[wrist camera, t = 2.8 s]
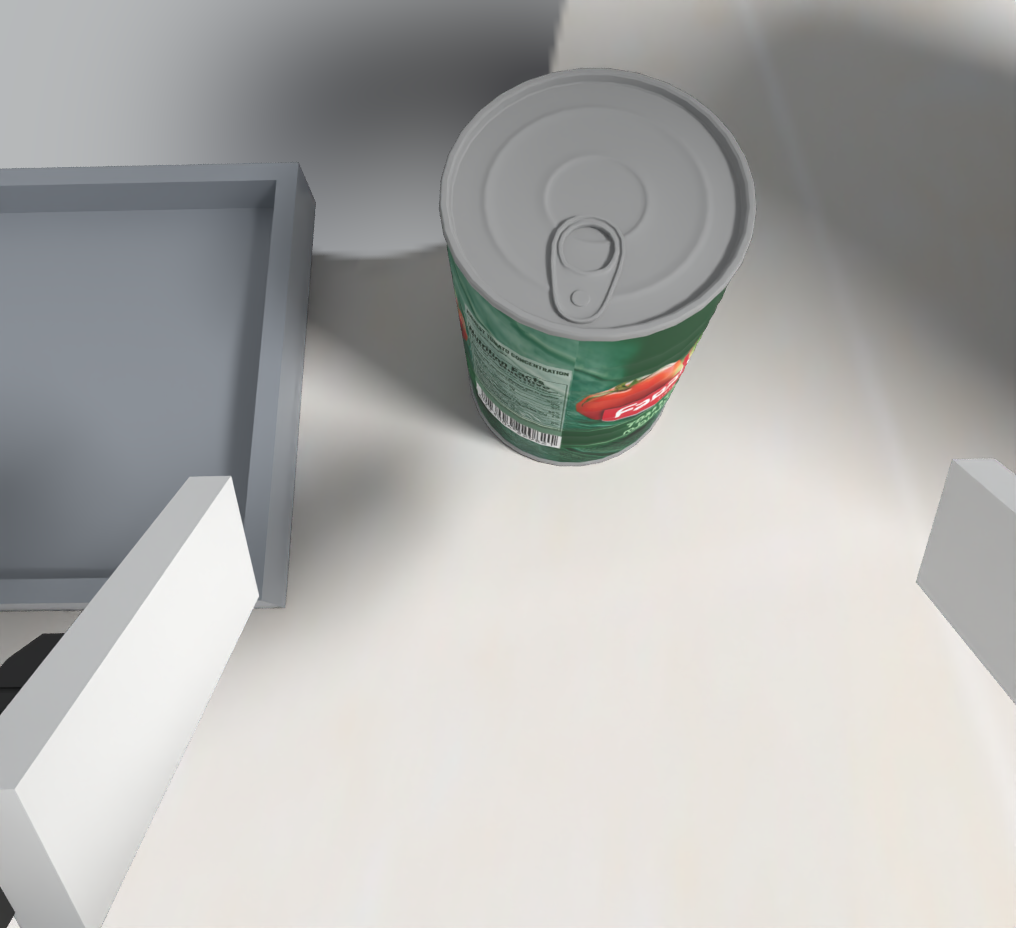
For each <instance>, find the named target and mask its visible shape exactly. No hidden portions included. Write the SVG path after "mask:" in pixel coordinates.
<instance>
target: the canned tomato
mask: <svg viewBox="0 0 1016 928" xmlns="http://www.w3.org/2000/svg"><path fill="white" fill-rule="evenodd" d="M439 211H440V217H441V223H442V229H443V235H444V237H445V240H446V242H447V250H448V256H449V262H450V267H451V273H452V279H453V285H454V290H455V296H456V302H457V307H458V313H459V319H460V325H461V330H462V336H463V342H464V348H465V353H466V359H467V365H468V371H469V381H470V387H471V392H472V396H473V399H474V401H475V404H476V406H477V409H478V411H479V413H480V415H481V416H482V418H483V419H484V421H485V422H486V424H487V425H488V427H489V428H490V430H491V431H492V432H493V433H494V434H495V435H496V436H497V437H498V438H499V439H500V440H501V441H502V442H503V443H505V444H506V445H508V446H509V447H511V448H512V449H514V450H515V451H517V452H518V453H520V454H522V455H524V456H527V457H529V458H531V459H534V460H536V461H539V462H543V463H548V464H552V465H557V466H584V465H590V464H596V463H601V462H603V461H606V460H609V459H611V458H614V457H617V456H619V455H621V454H622V453H624V452H625V451H627V450H629V449H630V448H632V447H633V446H635V445H636V444H637V443H638V442H639V441H640V440H641V439H642V438H643V437H645V436H646V435H647V434H648V433H649V432H650V431H651V429H652V428H653V426H654V425H655V423H656V422H657V420H658V419H659V417H660V416H661V414H662V412H663V409H664V407H665V404H666V402H667V401H668V399H669V397H670V395H671V393H672V391H673V390H674V388H675V385H676V383H677V382H678V380H679V378H680V375H681V374H682V373H683V371H684V368H685V366H686V364H687V363H688V361H689V359H690V357H691V355H692V353H693V352H694V350H695V348H696V345H697V343H698V342H699V340H700V339H701V336H702V334H703V332H704V330H705V329H706V327H707V325H708V323H709V320H710V318H711V317H712V315H713V314H714V312H715V310H716V307H717V305H718V303H719V302H720V300H721V299H722V297H723V294H724V292H725V289H726V287H727V285H728V283H729V281H730V280H731V279H732V277H733V276H734V274H735V273H736V271H737V270H738V268H739V267H740V266H741V264H742V262H743V259H744V257H745V254H746V252H747V249H748V247H749V244H750V242H751V239H752V236H753V229H754V222H755V216H756V198H755V187H754V181H753V178H752V174H751V171H750V168H749V165H748V162H747V159H746V156H745V155H744V153H743V151H742V150H741V148H740V146H739V144H738V143H737V141H736V139H735V138H734V136H733V134H732V133H731V132H730V131H729V130H728V128H727V127H726V126H725V125H724V124H723V123H722V122H721V121H720V119H719V118H718V117H717V116H716V115H715V114H714V113H713V112H712V111H711V110H709V109H708V108H707V107H705V106H704V105H703V104H702V103H700V102H699V101H698V100H696V99H695V98H694V97H693V96H691V95H689V94H687V93H686V92H684V91H682V90H680V89H678V88H676V87H674V86H672V85H670V84H668V83H667V82H664V81H661V80H658V79H655V78H652V77H649V76H646V75H643V74H640V73H635V72H629V71H623V70H617V69H611V68H579V69H572V70H566V71H559V72H553V73H549V74H546V75H543V76H540V77H537V78H535V79H531V80H528V81H525V82H523V83H521V84H519V85H517V86H515V87H514V88H512V89H510V90H508V91H506V92H504V93H502V94H500V95H499V96H498V97H496V98H495V99H494V100H492V101H491V102H490V103H489V104H487V105H486V106H485V107H484V108H482V109H481V110H480V111H479V112H478V113H477V114H476V115H475V116H474V117H473V118H472V120H471V121H470V122H469V123H468V124H467V125H466V126H465V128H464V129H463V130H462V131H461V133H460V134H459V136H458V138H457V140H456V142H455V143H454V145H453V147H452V149H451V151H450V152H449V154H448V157H447V161H446V164H445V167H444V171H443V174H442V177H441V184H440V201H439Z"/></svg>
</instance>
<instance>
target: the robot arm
mask: <svg viewBox="0 0 1016 928" xmlns="http://www.w3.org/2000/svg"><path fill="white" fill-rule="evenodd" d="M916 583H917V584H918V585H919V586H920V587H921V589H922V590H923V591H924V592H925V594H926V595H927V596H928V597H929V599H930V600H931V601H932V602H933V604H934V605H935V606H936V607H937V608H938V610H939V611H940V612H941V613H942V615H943V616H944V617H945V618H946V620H947V621H948V622H949V623H950V624H951V626H952V627H953V628H954V629H955V631H956V632H957V633H958V634H959V636H960V637H961V638H962V639H963V640H964V642H965V643H966V644H967V645H968V647H969V648H970V649H971V650H972V652H973V653H974V654H975V655H976V656H977V658H978V659H979V660H980V661H981V663H982V664H983V665H984V666H985V668H986V669H987V670H988V671H989V672H990V674H991V675H992V676H993V677H994V679H995V680H996V681H997V682H998V684H999V685H1000V686H1001V687H1002V688H1003V690H1004V691H1005V692H1006V693H1007V695H1008V696H1009V697H1010V698H1011V700H1012V701H1013V702H1014V703H1015V705H1016V474H1014V473H1013V472H1012V471H1010V470H1009V469H1008V468H1007V467H1005V466H1004V465H1003V464H1001V463H1000V462H999V461H998V460H996V459H995V458H984V459H952V462H951V465H950V468H949V472H948V475H947V479H946V482H945V485H944V489H943V492H942V495H941V499H940V502H939V506H938V509H937V512H936V516H935V519H934V523H933V526H932V529H931V533H930V536H929V539H928V543H927V546H926V550H925V553H924V556H923V560H922V563H921V566H920V570H919V573H918V577H917V580H916ZM258 597H259V593H258V589H257V585H256V580H255V576H254V572H253V567H252V563H251V559H250V554H249V550H248V546H247V542H246V537H245V533H244V529H243V524H242V520H241V516H240V512H239V507H238V503H237V499H236V494H235V490H234V486H233V481H232V477H231V476H198V477H189V478H188V479H187V480H186V482H185V483H184V484H183V486H182V487H181V488H180V489H179V491H178V492H177V493H176V494H175V496H174V497H173V498H172V499H171V501H170V502H169V503H168V504H167V506H166V507H165V508H164V509H163V511H162V512H161V513H160V515H159V516H158V517H157V518H156V520H155V521H154V522H153V523H152V525H151V526H150V527H149V528H148V530H147V531H146V532H145V533H144V535H143V536H142V537H141V538H140V540H139V541H138V542H137V544H136V545H135V546H134V547H133V549H132V550H131V551H130V552H129V554H128V555H127V556H126V557H125V559H124V560H123V561H122V562H121V564H120V565H119V566H118V567H117V569H116V570H115V571H114V572H113V574H112V575H111V576H110V578H109V579H108V580H107V581H106V583H105V584H104V585H103V586H102V588H101V589H100V590H99V591H98V593H97V594H96V595H95V596H94V598H93V599H92V600H91V601H90V603H89V604H88V605H87V607H86V608H85V609H84V610H83V612H82V613H81V614H80V615H79V617H78V618H77V619H76V620H75V622H74V623H73V624H72V625H71V627H70V628H69V629H68V630H67V632H66V633H55V634H42V635H40V636H39V637H38V638H36V639H35V640H33V641H32V642H31V643H29V644H28V645H26V646H25V647H23V648H22V649H21V650H19V651H18V652H16V653H15V654H14V655H12V656H11V657H9V658H8V659H7V660H6V661H5V662H4V664H3V665H2V666H1V667H0V928H7V926H8V924H9V923H10V921H11V919H12V918H13V916H14V918H15V919H16V921H17V923H18V924H19V926H20V928H101V926H102V924H103V922H104V920H105V918H106V916H107V914H108V912H109V910H110V907H111V905H112V903H113V901H114V899H115V897H116V895H117V893H118V891H119V889H120V886H121V884H122V882H123V880H124V878H125V876H126V874H127V872H128V870H129V868H130V866H131V863H132V861H133V859H134V857H135V855H136V853H137V851H138V849H139V847H140V845H141V842H142V840H143V838H144V836H145V834H146V832H147V830H148V828H149V826H150V824H151V821H152V819H153V817H154V815H155V813H156V811H157V809H158V807H159V805H160V803H161V801H162V798H163V796H164V794H165V792H166V790H167V788H168V786H169V784H170V782H171V780H172V777H173V775H174V773H175V771H176V769H177V767H178V765H179V763H180V761H181V759H182V756H183V754H184V752H185V750H186V748H187V746H188V744H189V742H190V740H191V738H192V736H193V733H194V731H195V729H196V727H197V725H198V723H199V721H200V719H201V717H202V715H203V712H204V710H205V708H206V706H207V704H208V702H209V700H210V698H211V696H212V694H213V691H214V689H215V687H216V685H217V683H218V681H219V679H220V677H221V675H222V673H223V671H224V668H225V666H226V664H227V662H228V660H229V658H230V656H231V654H232V652H233V650H234V647H235V645H236V643H237V641H238V639H239V637H240V635H241V633H242V631H243V629H244V626H245V624H246V622H247V620H248V618H249V616H250V614H251V612H252V610H253V608H254V606H255V603H256V601H257V599H258Z"/></svg>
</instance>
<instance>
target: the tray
mask: <svg viewBox="0 0 1016 928" xmlns="http://www.w3.org/2000/svg"><path fill="white" fill-rule="evenodd" d="M315 205H316V202H315V200H314V197H313V195H312V193H311V190H310V188H309V186H308V183H307V181H306V179H305V176H304V174H303V172H302V170H301V167H300V165H299V163H298V162H295V163H294V162H293V163H292V162H291V163H244V164H203V165H202V164H198V165H153V166H106V167H62V168H61V167H58V168H12V169H0V612H1V611H78V610H84V609H85V608H86V607H87V605H88V604H89V603H90V601H91V600H92V599H93V598H94V596H95V595H96V594H97V593H98V591H99V590H100V589H101V588H102V586H103V585H104V584H105V583H106V581H107V580H108V579H109V578H110V576H111V575H112V574H113V572H114V571H115V570H116V569H117V567H118V566H119V565H120V564H121V562H122V561H123V560H124V559H125V557H126V556H127V555H128V554H129V552H130V551H131V550H132V549H133V547H134V546H135V545H136V544H137V542H138V541H139V540H140V538H141V537H142V536H143V535H144V533H145V532H146V531H147V530H148V528H149V527H150V526H151V525H152V523H153V522H154V521H155V520H156V518H157V517H158V516H159V515H160V513H161V512H162V511H163V509H164V508H165V507H166V506H167V504H168V503H169V502H170V501H171V499H172V498H173V497H174V496H175V494H176V493H177V492H178V491H179V489H180V488H181V487H182V486H183V484H184V483H185V482H186V480H187V479H188V478H189V477H198V476H231V477H232V481H233V486H234V490H235V494H236V499H237V503H238V507H239V512H240V516H241V520H242V524H243V529H244V533H245V537H246V542H247V546H248V550H249V554H250V559H251V563H252V567H253V572H254V576H255V580H256V585H257V589H258V593H259V597H258V599H257V601H256V603H255V606H254V608H285V605H286V592H287V578H288V565H289V552H290V538H291V525H292V512H293V498H294V485H295V472H296V458H297V445H298V432H299V419H300V405H301V392H302V379H303V365H304V352H305V339H306V325H307V312H308V299H309V285H310V272H311V259H312V246H313V232H314V218H315Z"/></svg>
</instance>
